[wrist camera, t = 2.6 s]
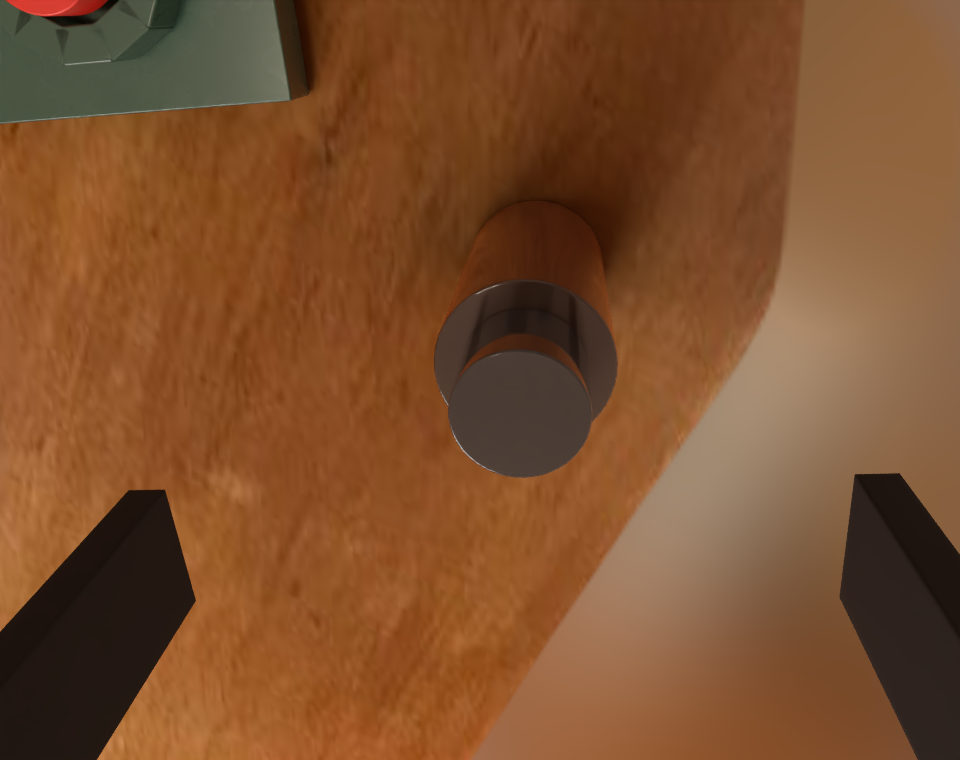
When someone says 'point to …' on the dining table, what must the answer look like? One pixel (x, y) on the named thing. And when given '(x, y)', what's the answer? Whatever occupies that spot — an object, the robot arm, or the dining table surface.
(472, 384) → the metal bottle
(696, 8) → the dining table surface
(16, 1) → the button
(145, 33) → the base
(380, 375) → the dining table surface
